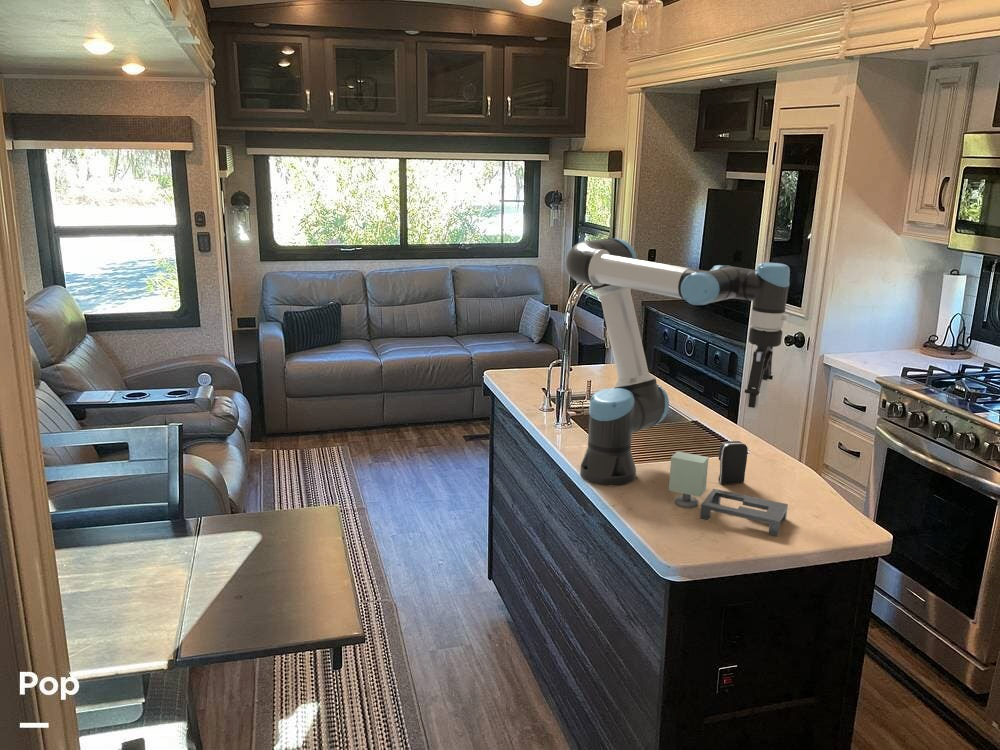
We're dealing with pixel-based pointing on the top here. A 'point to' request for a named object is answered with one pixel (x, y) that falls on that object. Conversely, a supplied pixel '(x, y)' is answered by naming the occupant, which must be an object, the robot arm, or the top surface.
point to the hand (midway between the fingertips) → (755, 411)
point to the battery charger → (732, 462)
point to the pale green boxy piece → (688, 478)
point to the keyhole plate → (746, 509)
